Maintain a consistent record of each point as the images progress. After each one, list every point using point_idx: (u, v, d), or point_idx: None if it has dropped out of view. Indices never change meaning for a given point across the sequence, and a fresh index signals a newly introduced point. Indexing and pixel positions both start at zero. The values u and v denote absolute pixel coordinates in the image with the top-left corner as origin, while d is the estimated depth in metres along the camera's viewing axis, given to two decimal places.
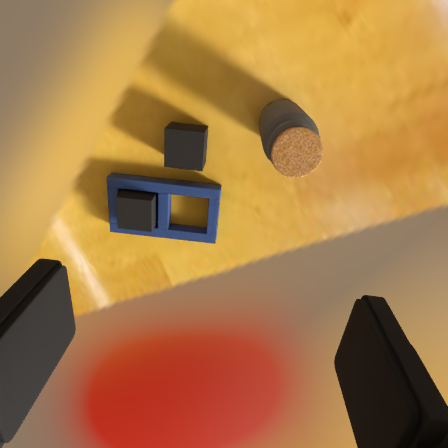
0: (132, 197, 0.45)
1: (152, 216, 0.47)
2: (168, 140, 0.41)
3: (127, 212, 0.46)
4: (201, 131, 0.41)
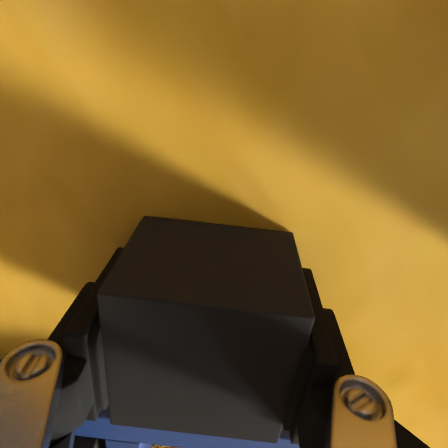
0: None
1: None
2: (118, 343, 0.08)
3: None
4: (292, 304, 0.08)
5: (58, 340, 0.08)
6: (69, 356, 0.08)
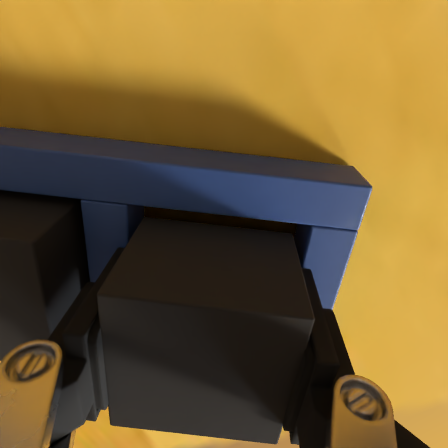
0: None
1: (54, 306, 0.10)
2: (118, 344, 0.08)
3: None
4: (291, 305, 0.08)
5: (58, 340, 0.08)
6: (69, 356, 0.08)
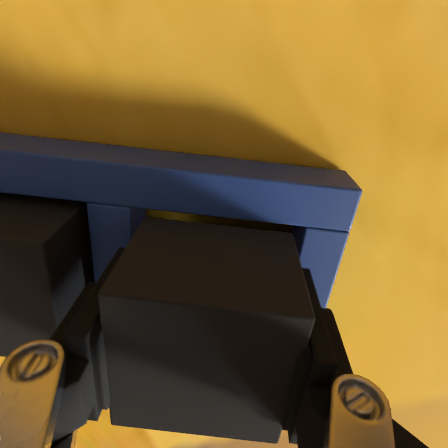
0: None
1: (61, 304, 0.11)
2: (120, 344, 0.08)
3: None
4: (292, 304, 0.08)
5: (60, 340, 0.08)
6: (71, 356, 0.08)
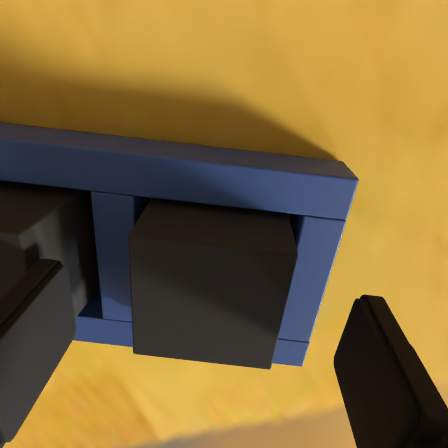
0: None
1: None
2: (144, 278, 0.10)
3: None
4: (280, 245, 0.10)
5: None
6: None
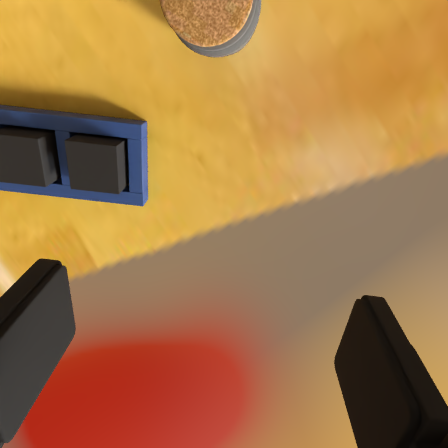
0: (11, 134, 0.32)
1: (44, 163, 0.33)
2: (70, 156, 0.32)
3: (7, 157, 0.32)
4: (112, 144, 0.32)
5: None
6: None
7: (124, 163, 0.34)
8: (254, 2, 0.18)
